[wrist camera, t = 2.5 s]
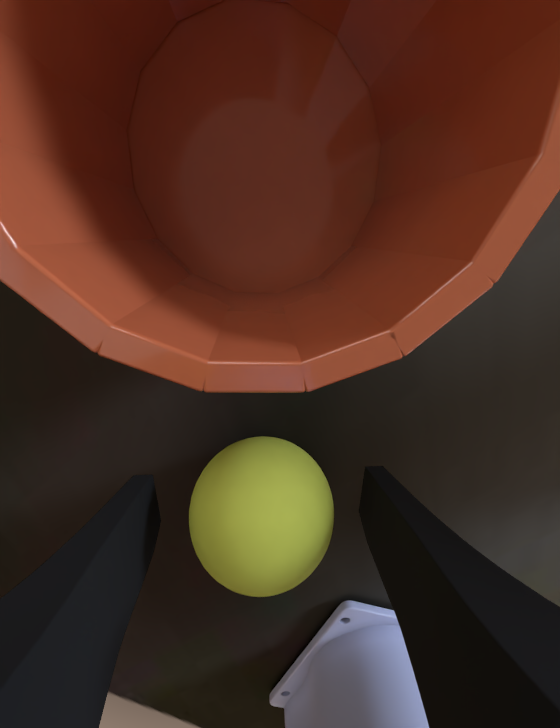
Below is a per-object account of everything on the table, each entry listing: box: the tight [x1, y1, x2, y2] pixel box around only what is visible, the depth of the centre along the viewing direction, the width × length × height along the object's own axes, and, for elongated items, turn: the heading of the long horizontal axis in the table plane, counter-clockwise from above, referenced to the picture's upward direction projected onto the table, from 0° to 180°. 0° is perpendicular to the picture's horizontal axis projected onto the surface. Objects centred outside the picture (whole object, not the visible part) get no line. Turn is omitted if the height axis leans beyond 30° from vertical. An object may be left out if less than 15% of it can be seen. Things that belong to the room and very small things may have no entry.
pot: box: [0, 0, 560, 393], centre depth 6 cm, size 7×7×6 cm
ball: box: [189, 436, 334, 597], centre depth 10 cm, size 5×5×5 cm
